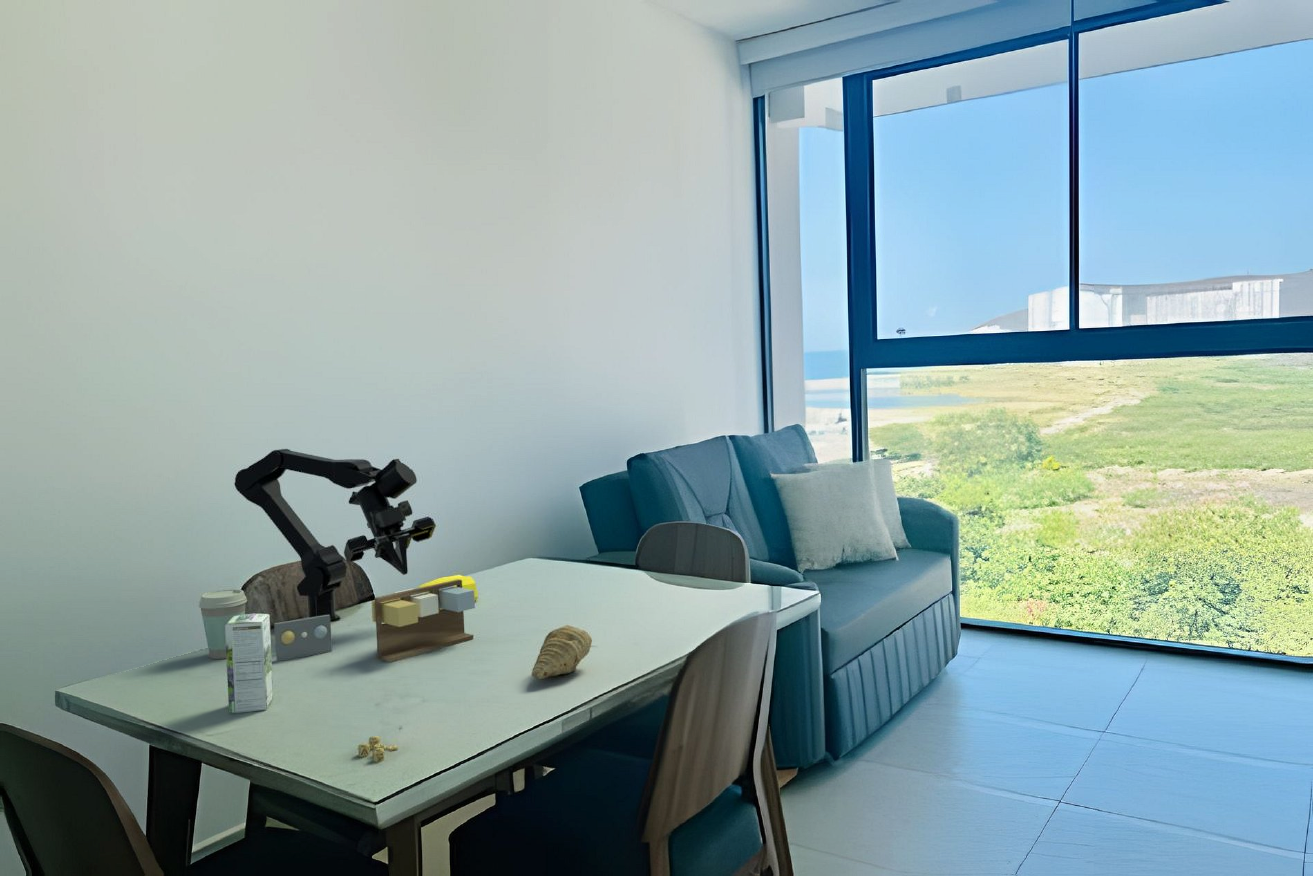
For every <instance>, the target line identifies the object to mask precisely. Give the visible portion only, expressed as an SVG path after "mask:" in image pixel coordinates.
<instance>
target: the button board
mask: <svg viewBox="0 0 1313 876" xmlns="http://www.w3.org/2000/svg"><path fill="white" fill-rule="evenodd" d="M451 586H457V587H460V588H462V580H459V579H458V580H453V581H449V582H444V583H440V584H435V585H431V586H426V587H422V588H419V587H418V588H413V590H408V589H407V590H408V591H404V592H399V591H398V592H399V593H395V594H393V593H391V594H386V595H381V596H377V597H374V600H375V617H376V622H375V630H376V631H375V632H376V649H377V650H376V651H377V659H378V658H379V659H378V660H380V659H381V661H383V660H385V661H384V662H387V663H393V662H396V661H395V660H397V661H400V659H401V660H403V659H402V658H404V659H407V658H411V657H414V656H417V655H421V654H426V653H429V652H432V651H436V650H440V649H442V647H443V648H446V647H450V646H453V645H457V643H458V644H461V643H464V642H467V641H471V640H474V634H472V633H471V634H470V633H466V632H465V616H464V615H465V614H464V612H465V611H461V612H455V611H451V610H446V609H441V610H440V597H439V589H442V588H447V587H451ZM425 592H429V593H431V594H435V595H438V611H439V613H436V614H432V615H428V616H424V617H418V622H417V623H413V624H409V625H405V626H401V627H398V626H394V625H390V624H386V623H382V618H381V602H385V601H389V600H394V599H398V598H400V600H403V601H408V602H411V596H412V595H416V594H420V593H425ZM460 642H461V643H460ZM435 649H436V650H435ZM428 651H429V652H428ZM410 656H411V657H410ZM392 661H393V662H392Z"/></svg>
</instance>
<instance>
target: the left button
mask: <svg viewBox="0 0 1313 876" xmlns="http://www.w3.org/2000/svg"><path fill="white" fill-rule="evenodd" d="M371 616H372V619H371V620H372V622H374V623H376V617H375V599H374V600H371ZM381 618H382V624H384V623H386V624H390V625H394V626H398V627H401V626H405V625H409V624H413V623H417V622H418V611H417V603H412V602H408V601H403V600H399V599H394V600H389V601H385V602H381Z"/></svg>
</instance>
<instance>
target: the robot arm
mask: <svg viewBox="0 0 1313 876" xmlns="http://www.w3.org/2000/svg"><path fill="white" fill-rule="evenodd" d="M287 470H288V471H293V472H298V473H302V474H307V475H312V476H317V477H321V478H325V479H327V480H329V482H332V484H334V485H336V486H340V488H344V489H355V488H359V487H362V488H360V489H359V490H358V491H352V494H351V496H350V497H349V500H348V504H349V505H354V506H355V505H356V506H360V509H361V511H362V514H363V516H364V518H365V520H366V526H367V529H369V530H370V532H371V534H372V536H373V538H370V539H368V538H367V536H365V535H358V536H355V537H353V538H350V539H347V541H346V543H345V546H344V551H343V555H344V556H342V555H341V554H340V553H339V551H338V549H337V547H336V546H335V545H334V544H331V545H329V546H324V545H322V544H320V542H319V540H318V539H316V537H315V536H314V535H313V534H312V532H311V531H310V530H309V528H308V527H307V526H306V525H305V523H304V522H303V521H302V520H301V518H300V517H299V516H298V514H297V513H296V512H295V510H294V509H293V508H292V507H291V505H290V504H289V503H288V502H287V501H286V499H285V498H284V497H283V495H282V491H281V490H282V489H281V484H280V483H281V482H280V481H279V479H280V478H281V477H282V476H283V475H284V474H285V472H286V471H287ZM417 481H418V479H417V476H416V474H415V472H414V470H413V469H412V468H410V467H409V466H408V465H406V464H405V463H404V462H401V460H400V459H399V458H394V459H392V460H390V461H389V462H388V463H387V464H386V466H385V467H383V468H382V469H381V468H378V467H375V466H372V464H371V461H369V460H366V459H358V458H357V459H354V458H351V459H350V458H348V459H334V458H329V457H323V456H318V455H314V454H309V453H304V452H298V451H295V450H291V449H288V448H281V449H275V450H271V451H270V452H269V453H268V454H267V455H265V456H264V457H262V458H261V459H259V460H257V461H256V462H254V463H252V464H251V465H250V466H248V467H246V468H243V469H241V470H239V471H238V472H236V475H235V478H234V487H235V490H236V491H237V492H238V493H239V494H240V495H241V496H242V497H244V498H245V499H246V500H247V501H248V502H251V503H253V504H254V505H256V506H257V507H259V508H261V510H263V511H264V512H265V514H266V515H267V516H268V518H269V519H270V520H271V521H272V523H273V524H274V525H275V527H276V528H277V529H278V530H279V532H280V533H281V535H283V537H284V539H286V541H287V542H288V543H289V545H290V546H291V547H292V549H293V550H294V551H295V552H296V553H297V555H298V556H299V558H300V562H301V563H300V564H301V571H302V572H303V575H305V576H304V577H303V579H302V580H301V581H300V582H299V583H298V584H297V586H296V589H297V591H298V595H299V597H306V603H307V604H306V606H307V609H306V610H307V615H304V616H303V617H302V619H304V618H310V617H316V616H323V615H330V622H332V621H331V620H333V621H337V620H338V619H339V620H341V616H340V615H338V614H337V613H336V602H335V601H336V600H335V590H336V589H340V588H341V587H342V582H343V580H344V579H345V578H346V574H347V568H348V567H347V563H353V562H357V561H359V560H362V559H363V557H364V555H365V552H366V551H369V550H372V549H373V550H374V552H375V554H374V558H375V559H379V558H380V559H382V560H383V561H385V562H387V564H389V565H391V566H392V567H393V568H394V569H396V570H397V572H399V573H400V574H402V575H403V576H404V575H405V576H406V575H408V569H409V568H408V557H407V552H408V551H407V549H408V548H409V547H410V544H411V542H412V541H414V542H417V543H419V542H423V541H426V540H429V539H430V538H432V537H433V534H434V531H435V529H436V527H437V525H436V522H435V521H434V519H433V518H432V517H430V516H425V517H422V518H417V519H415V520H413V521H412V525H411V527H407V528H405V529H402V528H403V527H404V525H405V523H404V522H405V521H407V517H410V516H411V515H413V509H412V506H411V504H410V502H409V500H402V501H400V502H399V503H397V506H396V507H394V506H393V505H391V504H390V501H389V499H388V498H390V499H394V500H395V499H397V498H399V497H400V496H401V495H403V494H404V493H405V492H406V491H407V490H409V489H411V487H413V486H414V485H415V484H416V483H417ZM370 483H371V484H370ZM394 545H395V546H394ZM364 551H365V552H364ZM344 560H345V561H346V562H347V563H346V562H345V561H344Z"/></svg>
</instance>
